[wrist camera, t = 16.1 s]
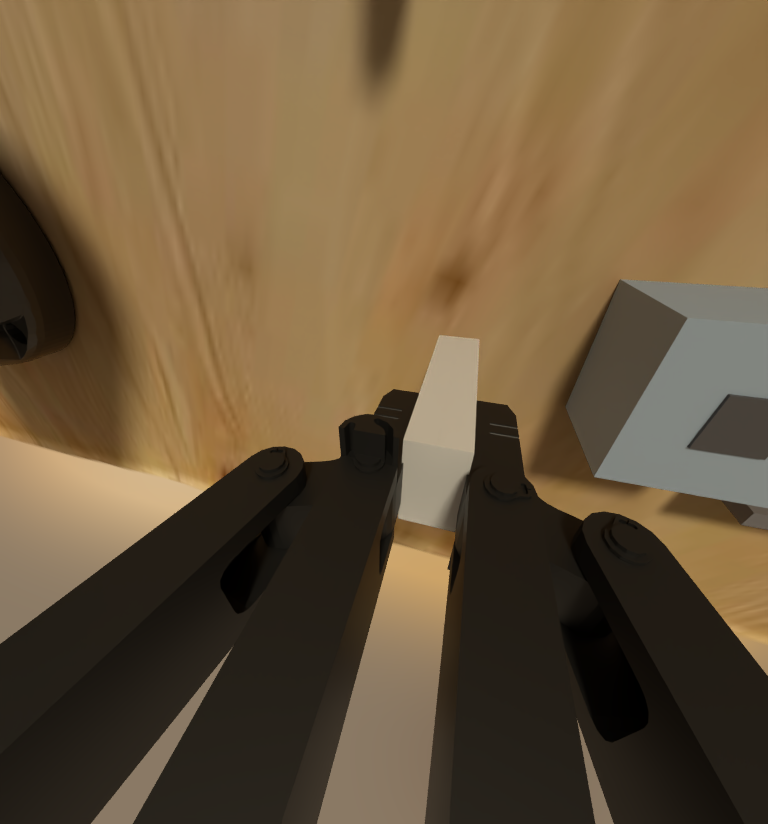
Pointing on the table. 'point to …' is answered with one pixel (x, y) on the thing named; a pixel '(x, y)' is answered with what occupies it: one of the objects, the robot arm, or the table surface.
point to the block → (679, 391)
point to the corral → (749, 514)
